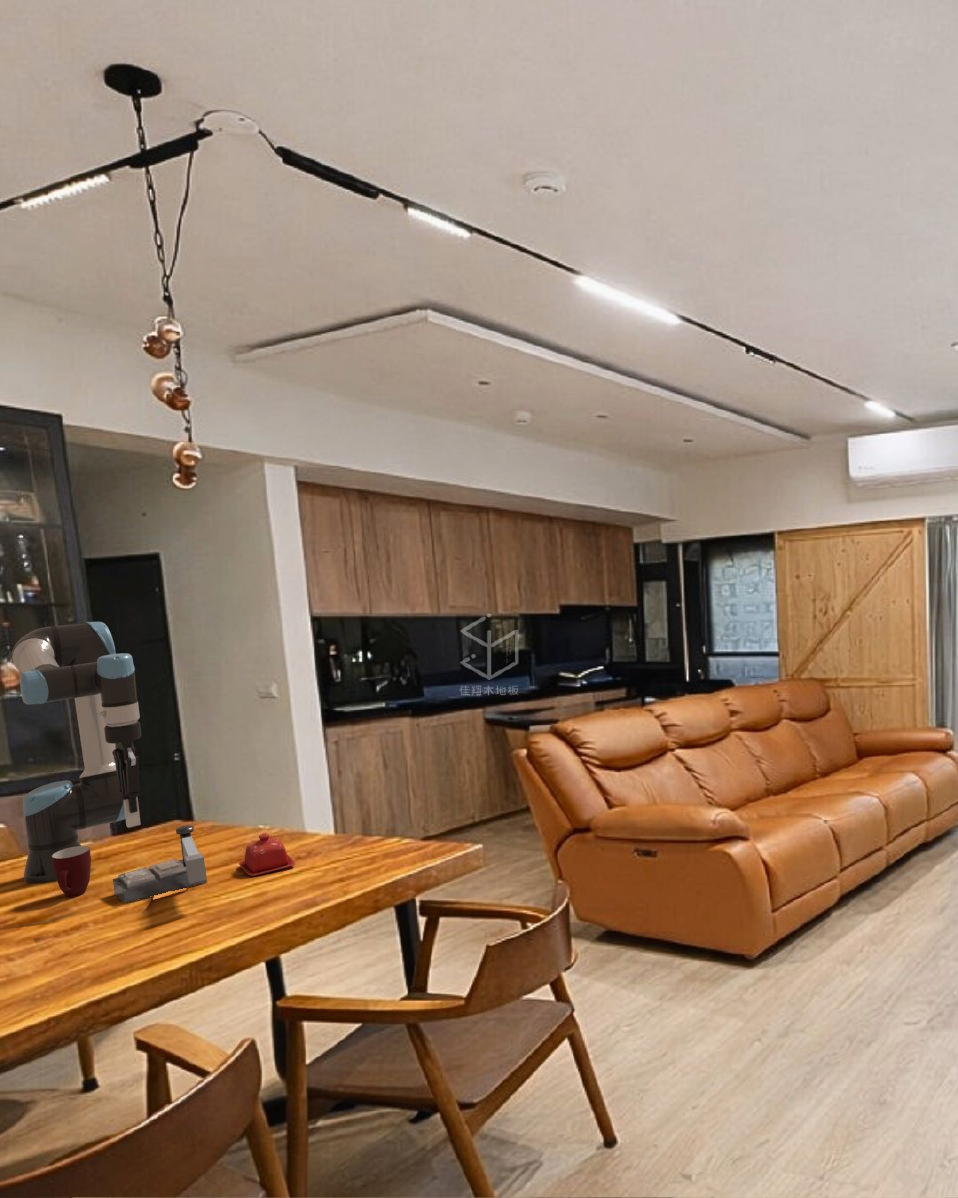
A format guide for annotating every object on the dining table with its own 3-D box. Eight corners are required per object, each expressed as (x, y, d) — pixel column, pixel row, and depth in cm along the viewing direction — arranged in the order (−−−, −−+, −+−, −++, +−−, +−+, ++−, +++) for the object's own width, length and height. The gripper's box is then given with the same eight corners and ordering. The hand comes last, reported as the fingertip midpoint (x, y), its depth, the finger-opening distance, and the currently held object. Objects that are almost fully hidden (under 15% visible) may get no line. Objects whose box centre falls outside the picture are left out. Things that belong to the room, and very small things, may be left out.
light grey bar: (180, 860, 199) (178, 839, 199) (196, 856, 200) (194, 835, 200) (189, 883, 184) (186, 861, 183) (206, 879, 185) (204, 857, 185)
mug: (88, 902, 194) (82, 858, 194) (49, 908, 193) (44, 864, 192) (98, 884, 205) (93, 843, 204) (61, 890, 203) (56, 849, 202)
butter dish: (298, 869, 205) (294, 834, 204) (249, 881, 199) (246, 846, 198) (283, 855, 215) (280, 822, 214) (237, 867, 209) (233, 833, 208)
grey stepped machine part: (114, 896, 196) (108, 843, 195) (193, 873, 207) (187, 822, 206) (126, 909, 188) (119, 853, 187) (207, 884, 199) (201, 831, 198)
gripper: (97, 722, 196) (108, 823, 197) (112, 729, 185) (124, 836, 187) (131, 716, 200) (142, 815, 202) (147, 723, 190) (159, 827, 192)
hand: (133, 825), depth 194 cm, fingers closed
